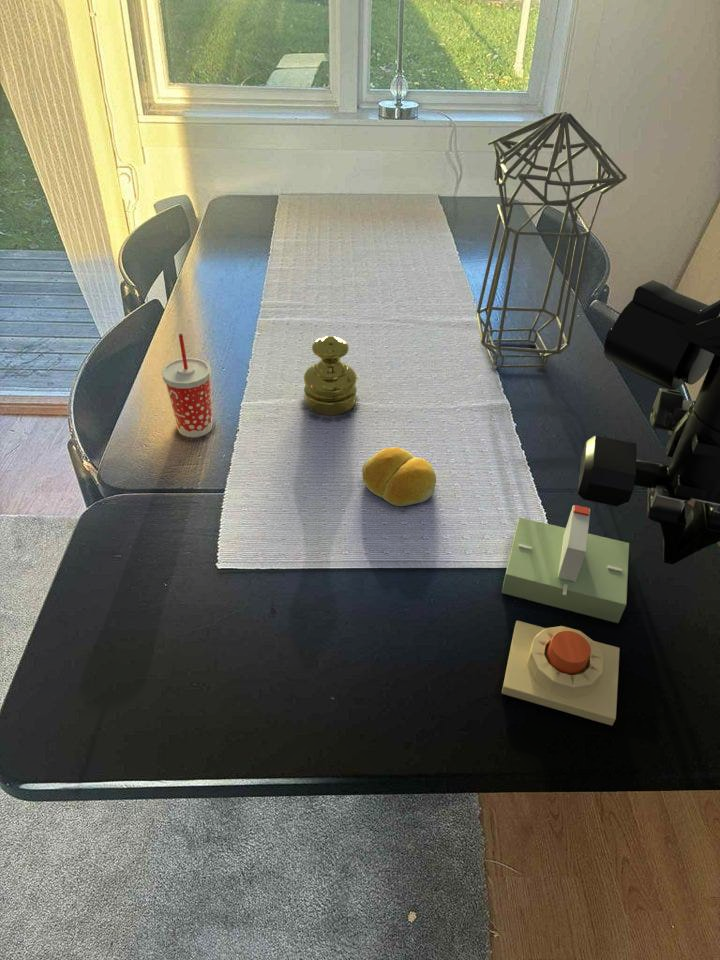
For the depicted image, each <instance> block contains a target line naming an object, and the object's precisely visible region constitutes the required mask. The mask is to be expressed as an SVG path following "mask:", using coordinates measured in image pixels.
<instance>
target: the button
mask: <svg viewBox="0 0 720 960" xmlns="http://www.w3.org/2000/svg"><path fill="white" fill-rule="evenodd" d="M590 654H591V648H590V645H589V643H588V641H587V640H586V639H585V638H584V637H583V636H581V635H580V634H578V633H576V632H573V631H560V632H558V633H556V634H555V635H554V636H553V637H552V639H551V642H550V645H549V647H548V651H547V656H548V660H549V662H550V663H551V665H552V666H553V667H554V668H556V669H557V670H559V671H561V672H563V673H567V674H576V673H579V672H581V671H582V670H583V669H584V668H585V667H586V664H587V662H588V659H589V657H590Z"/></svg>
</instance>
